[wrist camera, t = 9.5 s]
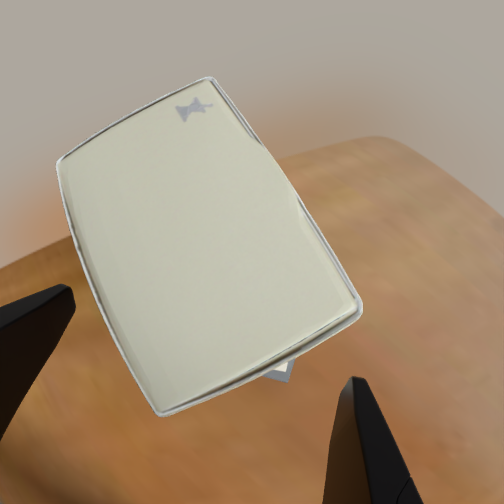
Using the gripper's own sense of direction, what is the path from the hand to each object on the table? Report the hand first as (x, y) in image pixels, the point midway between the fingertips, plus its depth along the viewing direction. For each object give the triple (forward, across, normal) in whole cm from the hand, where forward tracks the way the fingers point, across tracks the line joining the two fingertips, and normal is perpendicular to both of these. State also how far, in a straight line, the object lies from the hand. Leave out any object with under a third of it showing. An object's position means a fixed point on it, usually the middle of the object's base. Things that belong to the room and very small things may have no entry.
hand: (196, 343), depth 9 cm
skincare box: (+8, 0, +4) cm, 9 cm away
